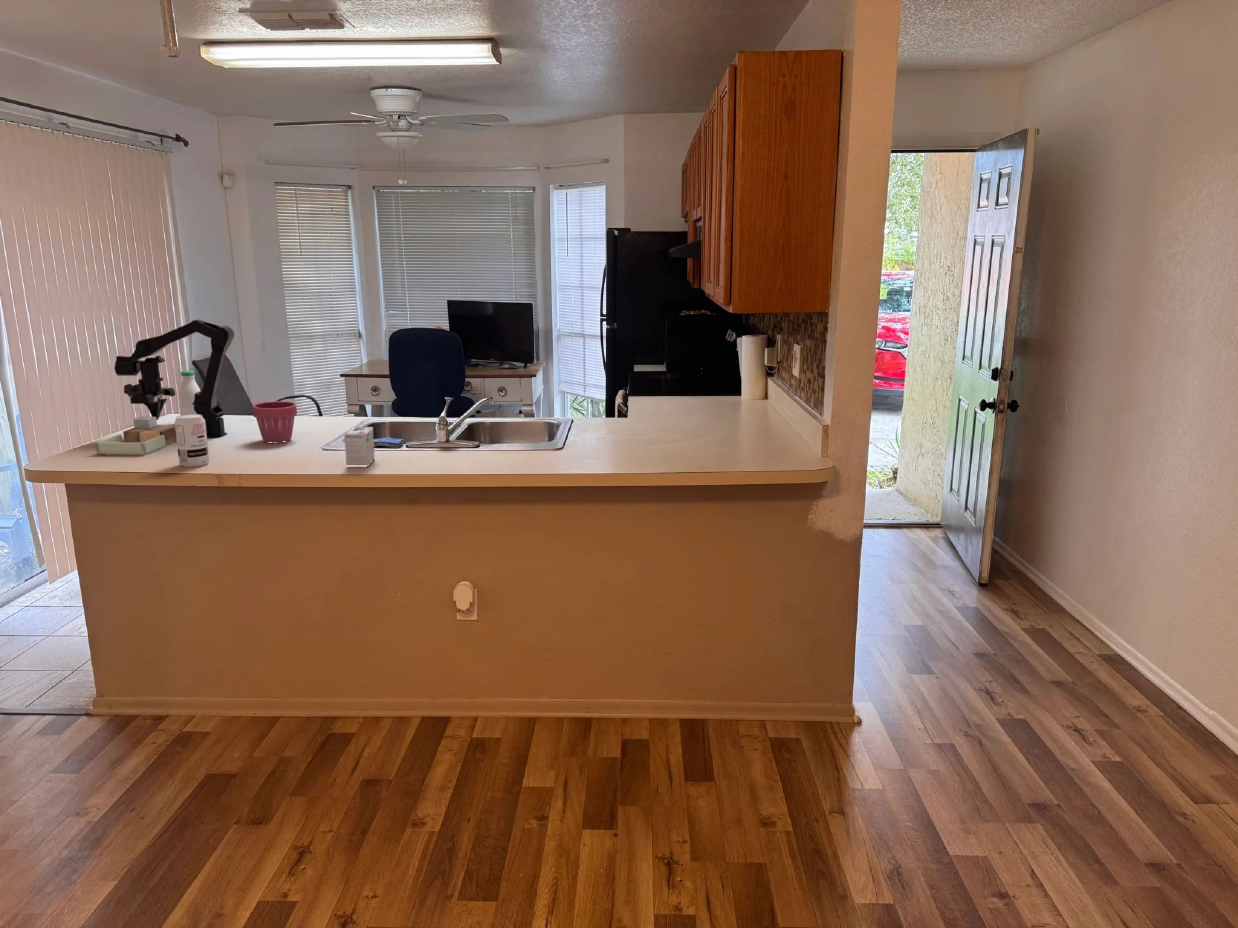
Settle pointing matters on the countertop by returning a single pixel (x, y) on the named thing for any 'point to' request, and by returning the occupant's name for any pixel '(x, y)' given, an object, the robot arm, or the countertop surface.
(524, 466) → the countertop surface
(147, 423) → the pale grey squat block
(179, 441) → the supplement can
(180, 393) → the milk bottle
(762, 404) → the countertop surface
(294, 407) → the plant pot
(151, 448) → the sage tray
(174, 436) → the walnut block
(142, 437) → the peach square prism
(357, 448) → the light bulb box
